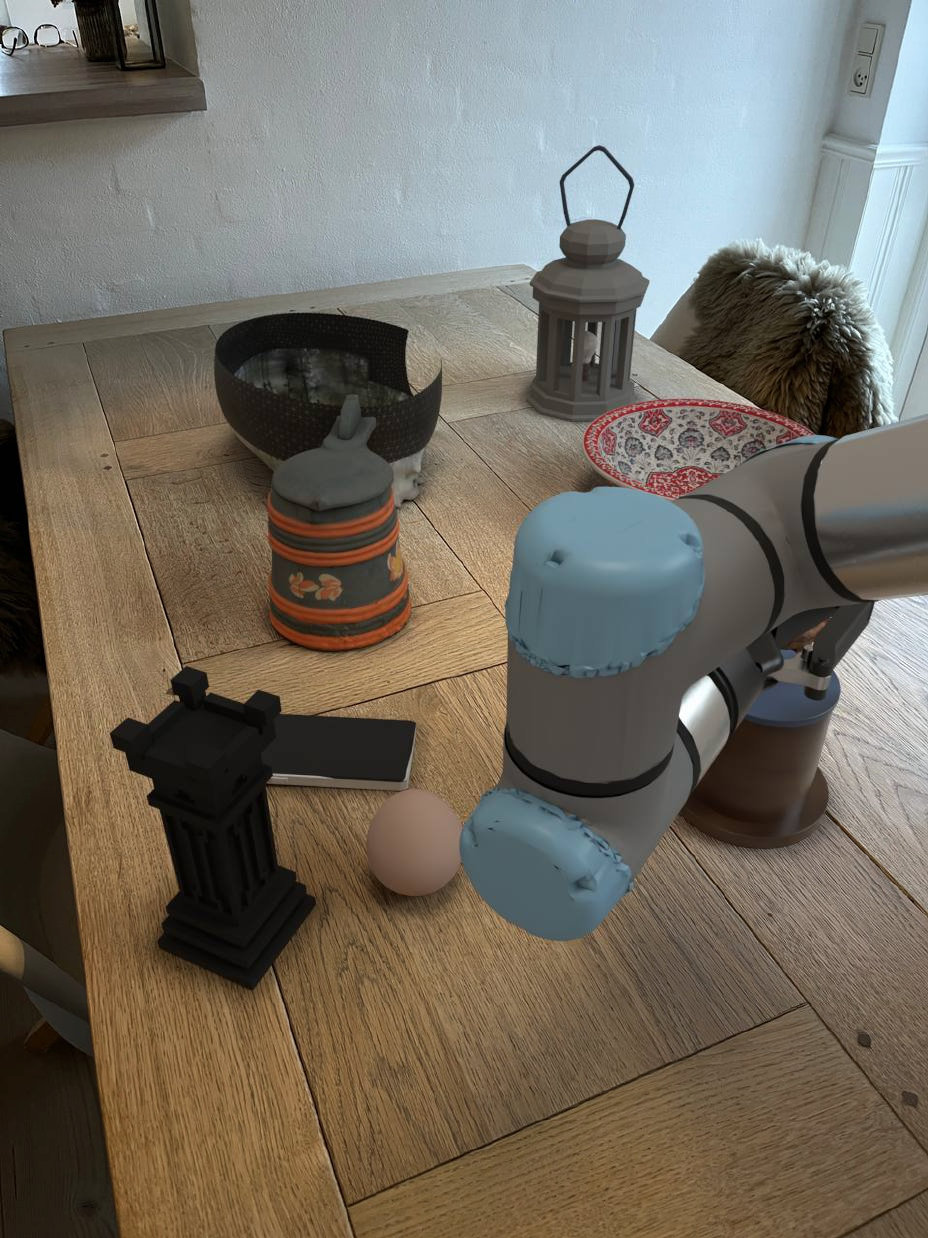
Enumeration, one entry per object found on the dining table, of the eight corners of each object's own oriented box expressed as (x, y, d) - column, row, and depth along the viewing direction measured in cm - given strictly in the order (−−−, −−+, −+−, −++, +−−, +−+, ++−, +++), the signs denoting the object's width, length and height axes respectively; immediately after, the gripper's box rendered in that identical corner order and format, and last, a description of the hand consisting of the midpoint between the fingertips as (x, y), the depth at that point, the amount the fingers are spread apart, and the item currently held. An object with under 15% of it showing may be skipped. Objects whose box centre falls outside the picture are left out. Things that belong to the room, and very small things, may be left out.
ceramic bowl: (806, 462, 133) (818, 406, 129) (832, 579, 110) (848, 515, 105) (586, 446, 137) (590, 390, 133) (567, 556, 114) (571, 493, 109)
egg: (363, 916, 73) (356, 837, 68) (375, 841, 79) (369, 764, 74) (461, 920, 73) (461, 841, 68) (466, 845, 79) (466, 767, 74)
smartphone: (406, 783, 83) (227, 773, 83) (407, 794, 83) (229, 784, 84) (416, 719, 89) (250, 710, 90) (416, 729, 90) (251, 721, 91)
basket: (424, 404, 149) (422, 295, 140) (458, 519, 121) (457, 392, 111) (230, 416, 146) (215, 304, 136) (218, 537, 117) (197, 406, 108)
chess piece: (158, 948, 71) (99, 735, 59) (227, 868, 77) (185, 660, 65) (252, 990, 68) (209, 776, 57) (316, 904, 74) (288, 694, 62)
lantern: (635, 380, 157) (660, 134, 137) (640, 424, 143) (668, 159, 123) (528, 376, 158) (537, 133, 138) (523, 419, 145) (532, 156, 124)
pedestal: (860, 808, 82) (896, 694, 75) (743, 873, 76) (771, 756, 69) (745, 718, 91) (768, 610, 84) (633, 771, 85) (648, 659, 78)
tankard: (294, 551, 115) (275, 385, 103) (421, 555, 114) (416, 388, 103) (256, 650, 99) (229, 468, 88) (403, 655, 99) (395, 472, 87)
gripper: (515, 693, 61) (675, 533, 76) (828, 823, 52) (935, 612, 68) (519, 589, 56) (687, 442, 72) (860, 712, 48) (967, 514, 63)
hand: (807, 525), depth 70 cm, fingers closed on figurine, 6 cm apart
